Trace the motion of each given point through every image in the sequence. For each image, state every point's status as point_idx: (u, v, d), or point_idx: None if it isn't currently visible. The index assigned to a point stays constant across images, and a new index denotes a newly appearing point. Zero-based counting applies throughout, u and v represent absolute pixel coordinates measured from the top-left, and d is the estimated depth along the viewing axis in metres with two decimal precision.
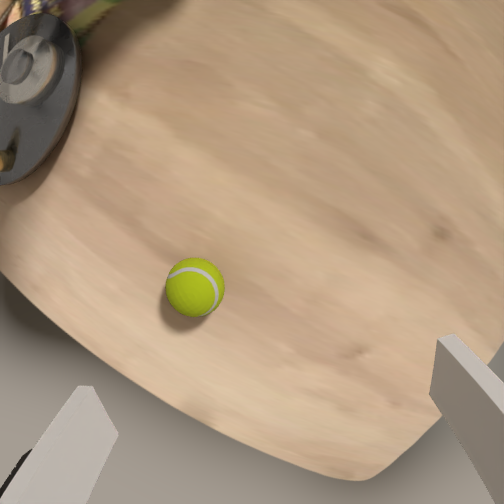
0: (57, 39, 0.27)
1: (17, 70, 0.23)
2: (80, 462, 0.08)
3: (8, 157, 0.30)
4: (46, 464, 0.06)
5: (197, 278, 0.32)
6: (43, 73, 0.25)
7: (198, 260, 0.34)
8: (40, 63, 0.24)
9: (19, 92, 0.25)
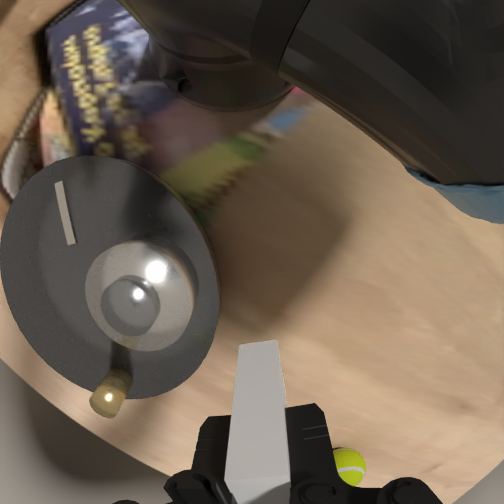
0: (172, 233, 0.26)
1: (141, 323, 0.22)
2: None
3: (127, 386, 0.28)
4: None
5: (354, 474, 0.31)
6: (186, 324, 0.24)
7: (351, 457, 0.33)
8: (177, 309, 0.23)
9: (144, 340, 0.24)
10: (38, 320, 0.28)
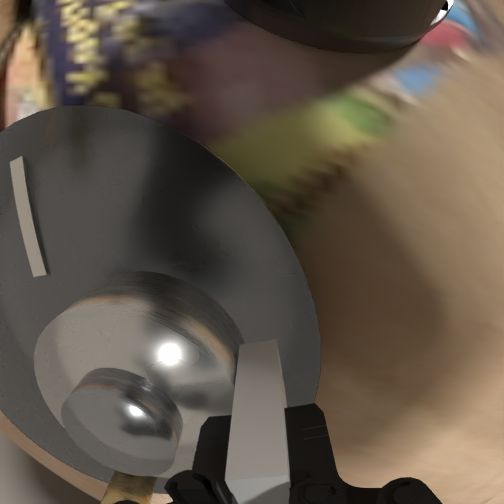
0: (244, 264, 0.13)
1: (147, 462, 0.09)
2: None
3: (151, 489, 0.15)
4: None
5: None
6: None
7: None
8: None
9: None
10: (5, 384, 0.16)
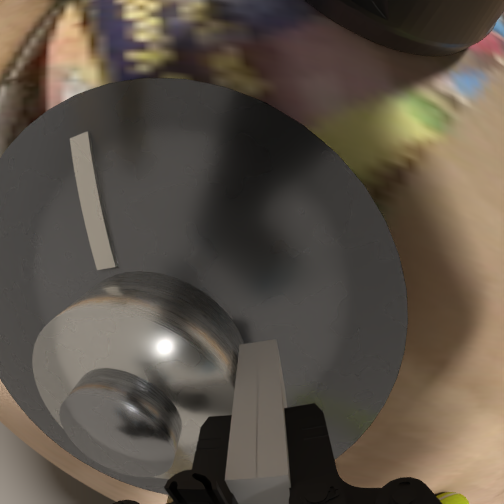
0: (347, 249, 0.12)
1: (146, 463, 0.09)
2: None
3: None
4: None
5: None
6: None
7: (460, 503, 0.19)
8: None
9: None
10: None
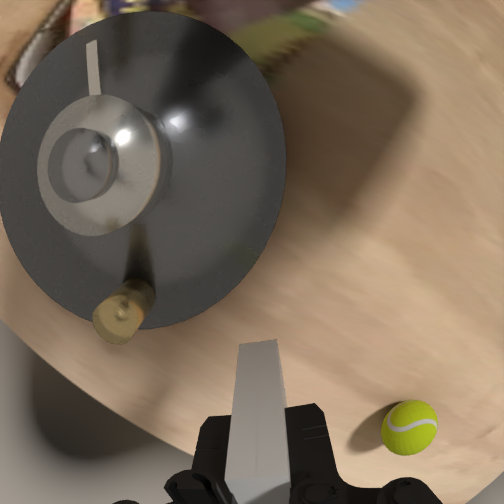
0: (232, 80, 0.19)
1: (90, 180, 0.16)
2: None
3: (149, 301, 0.22)
4: None
5: (429, 429, 0.24)
6: (149, 191, 0.18)
7: (423, 408, 0.26)
8: (138, 168, 0.17)
9: (95, 218, 0.18)
10: (35, 222, 0.22)
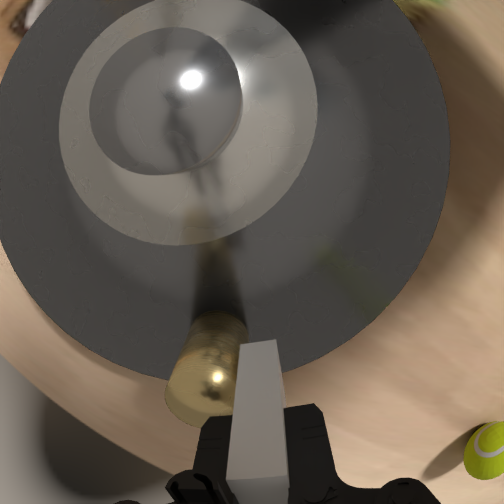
0: (383, 32, 0.11)
1: (194, 129, 0.08)
2: None
3: None
4: None
5: None
6: (300, 168, 0.10)
7: None
8: (285, 122, 0.09)
9: (181, 211, 0.10)
10: (43, 216, 0.14)
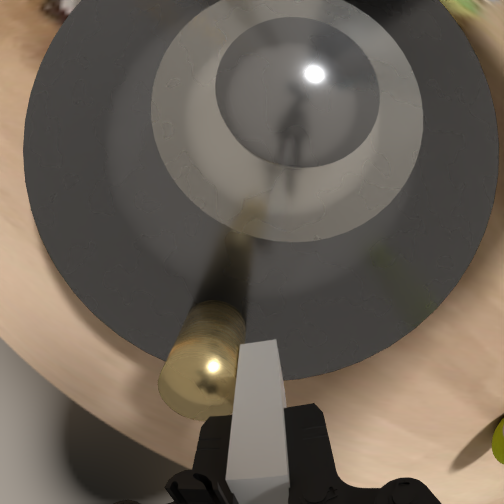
0: (472, 115, 0.12)
1: (321, 135, 0.08)
2: None
3: None
4: None
5: None
6: (379, 209, 0.10)
7: None
8: (385, 164, 0.09)
9: (259, 201, 0.10)
10: (83, 139, 0.13)
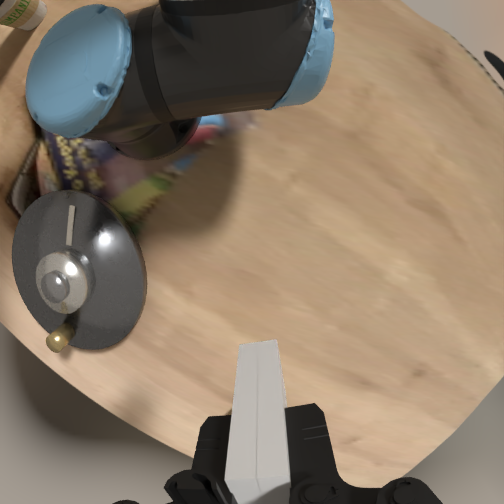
0: (127, 268, 0.42)
1: (56, 298, 0.37)
2: None
3: (71, 337, 0.43)
4: None
5: None
6: (78, 307, 0.39)
7: None
8: (76, 298, 0.39)
9: (56, 305, 0.39)
10: (29, 275, 0.42)
